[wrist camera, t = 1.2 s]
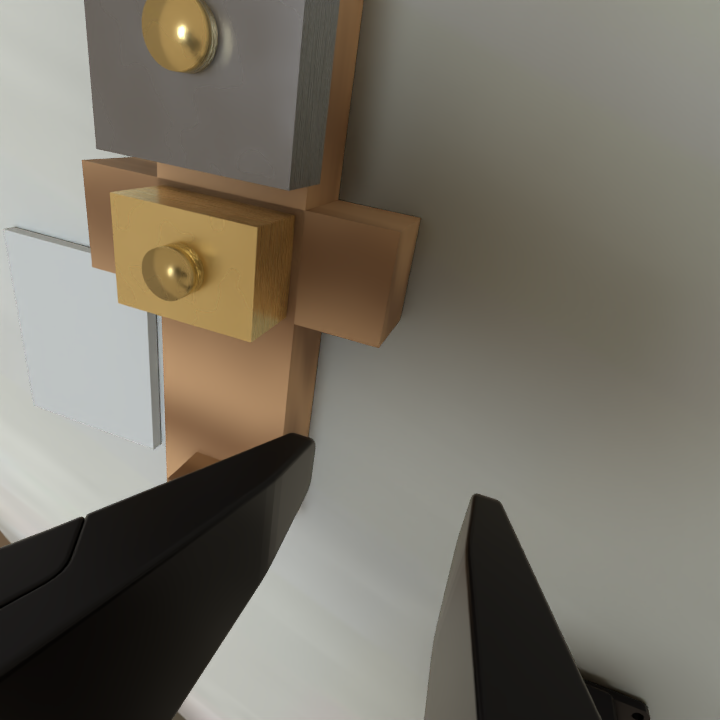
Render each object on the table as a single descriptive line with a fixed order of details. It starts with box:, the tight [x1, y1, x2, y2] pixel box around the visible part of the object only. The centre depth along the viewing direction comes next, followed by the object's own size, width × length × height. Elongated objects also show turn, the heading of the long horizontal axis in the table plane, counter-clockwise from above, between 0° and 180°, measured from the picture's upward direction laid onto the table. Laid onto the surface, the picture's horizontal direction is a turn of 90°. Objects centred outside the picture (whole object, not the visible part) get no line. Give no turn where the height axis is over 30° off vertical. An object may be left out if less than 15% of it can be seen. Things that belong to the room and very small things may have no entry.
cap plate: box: [84, 0, 340, 191], centre depth 14 cm, size 7×6×3 cm
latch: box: [110, 185, 296, 342], centre depth 16 cm, size 4×5×3 cm
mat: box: [3, 227, 161, 450], centre depth 25 cm, size 10×8×1 cm
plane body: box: [82, 0, 421, 482], centre depth 19 cm, size 23×12×5 cm, turn 171°
